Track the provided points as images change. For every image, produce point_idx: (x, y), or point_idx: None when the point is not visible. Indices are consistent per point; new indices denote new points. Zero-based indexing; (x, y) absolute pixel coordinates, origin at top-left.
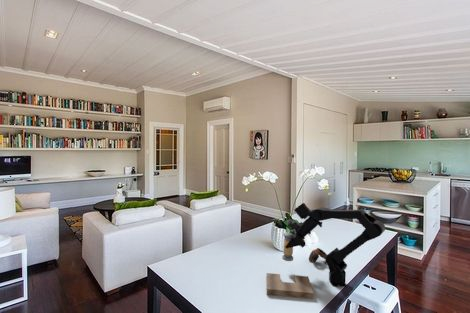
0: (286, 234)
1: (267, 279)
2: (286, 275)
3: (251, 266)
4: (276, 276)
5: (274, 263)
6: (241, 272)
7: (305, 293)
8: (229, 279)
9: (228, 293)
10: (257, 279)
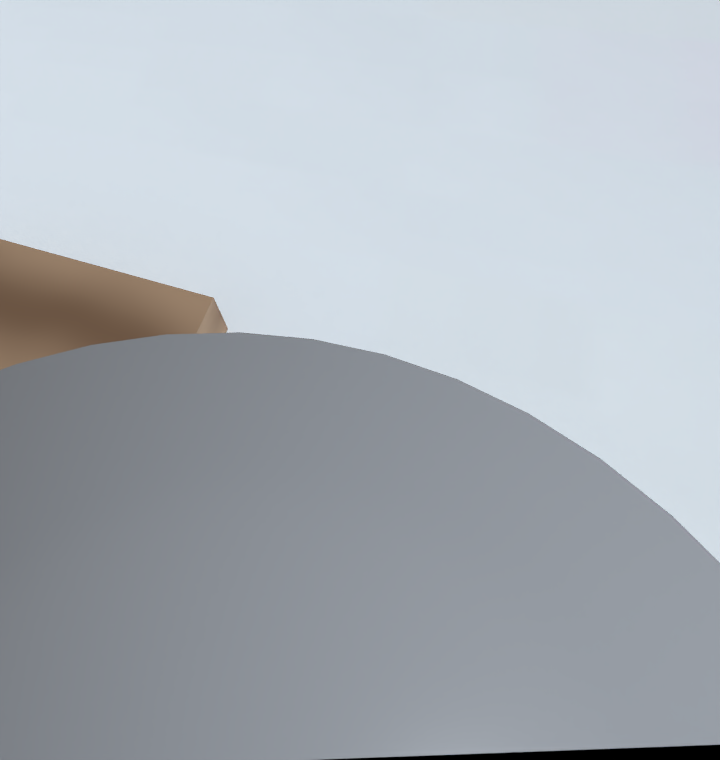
0: (148, 679)
1: (72, 268)
2: None
3: (516, 243)
4: None
5: None
6: (391, 134)
7: None
8: (283, 38)
9: (87, 12)
10: (225, 238)
